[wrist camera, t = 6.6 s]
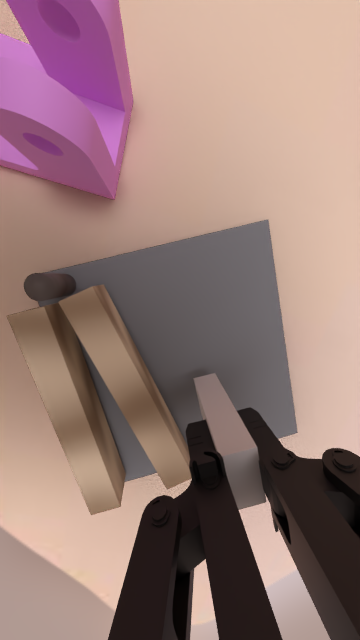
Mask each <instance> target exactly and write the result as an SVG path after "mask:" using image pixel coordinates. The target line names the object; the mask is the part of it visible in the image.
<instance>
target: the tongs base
mask: <svg viewBox="0 0 360 640" xmlns="http://www.w3.org/2000/svg"><path fill="white" fill-rule="evenodd" d="M24 289H25V292H26V294H27V295H28V296H29V297H30V298H31V299H33V300H36V301H45V300H49V299H54V298H58V297H63V296H67V295H70V294H72V293H73V292H74V291H75V289H76V282H75V280H74V278H73V277H72V276H70V275H68V274H58V273H35V274H31V275H29V276H28V277H27V278H26V280H25V282H24ZM7 318H8V321H9V323H10V325H11V328H12V330H13V332H14V335H15V337H16V339H17V342H18V344H19V346H20V349H21V351H22V354H23V356H24V358H25V361H26V363H27V365H28V368H29V370H30V372H31V375H32V377H33V379H34V382H35V384H36V387H37V389H38V391H39V394H40V396H41V398H42V401H43V403H44V405H45V408H46V410H47V412H48V415H49V417H50V420H51V422H52V424H53V427H54V429H55V431H56V434H57V436H58V438H59V441H60V443H61V445H62V448H63V450H64V453H65V455H66V457H67V460H68V462H69V464H70V467H71V469H72V471H73V474H74V476H75V478H76V481H77V483H78V486H79V488H80V490H81V493H82V495H83V497H84V500H85V502H86V504H87V507H88V509H89V511H90V514H91V515H93V514H97V513H100V512H104V511H107V510H111V509H114V508H118V507H120V506H121V500H122V494H123V488H124V482H125V476H126V473H125V470H124V467H123V465H122V462H121V459H120V456H119V454H118V451H117V448H116V445H115V442H114V440H113V437H112V434H111V431H110V428H109V426H108V423H107V420H106V417H105V415H104V412H103V409H102V406H101V403H100V401H99V398H98V395H97V392H96V389H95V387H94V384H93V381H92V378H91V376H90V373H89V370H88V367H87V364H86V362H85V359H84V356H83V353H82V350H81V348H80V345H79V342H78V339H77V337H76V334H75V331H74V329H73V327H72V325H71V323H70V322H69V320H68V318H67V316H66V315H65V313H64V311H63V310H62V308H61V306H60V304H59V303H54V304H50V305H46V306H42V307H38V308H34V309H30V310H26V311H23V312H19V313H15V314H12V315H8V316H7Z"/></svg>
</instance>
